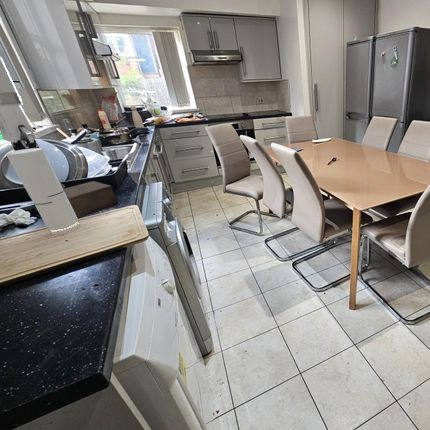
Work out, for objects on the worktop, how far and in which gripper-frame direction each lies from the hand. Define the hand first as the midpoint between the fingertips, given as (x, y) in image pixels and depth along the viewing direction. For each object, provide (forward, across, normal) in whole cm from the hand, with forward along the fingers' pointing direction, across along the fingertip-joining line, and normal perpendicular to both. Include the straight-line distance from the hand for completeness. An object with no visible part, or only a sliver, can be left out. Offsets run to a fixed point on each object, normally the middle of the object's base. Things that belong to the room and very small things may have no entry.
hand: (31, 159), depth 84 cm
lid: (+13, 0, +8) cm, 16 cm away
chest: (+20, 0, +9) cm, 22 cm away
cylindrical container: (+21, +15, -4) cm, 26 cm away
